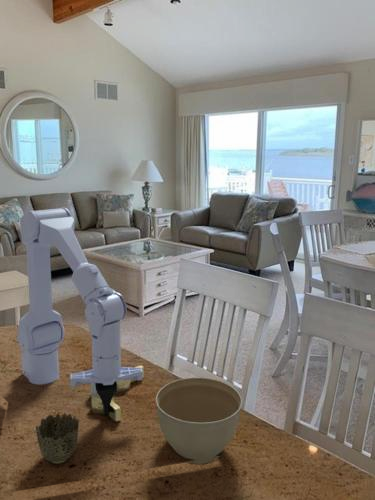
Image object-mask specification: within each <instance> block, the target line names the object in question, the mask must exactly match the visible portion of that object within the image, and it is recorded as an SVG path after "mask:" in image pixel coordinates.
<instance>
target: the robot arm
mask: <svg viewBox="0 0 375 500" xmlns="http://www.w3.org/2000/svg"><path fill="white" fill-rule="evenodd" d="M19 220H20V223H19V224H20V237H21V244H22V245H25V246H26V247H25V248H26V261H27V262H26V264H27V265H26V266H27V279H28V281H27V282H28V283H27V284H28V298H29V299H28V300H29V310H28V312H26V313H25V314H24V315H22V317H21V318H20V319H19V321H18V330H17V333H16V334H17V336H16V337H17V343H18V345H19V347H20V350H22V351H21V366H22V375H23V376H25V377H26V378H27V380H28V381H29V382H30V383H31V384H32V385H33V384H34V385H47V384H50V383H54V382H55V381H57V380H58V379H59V378H60V365H59V363H60V362H59V351H58V350H59V349H58V348H59V347H61V342H63V341H64V339H65V334H66V333H65V332H66V330H65V327H64V324H63V318H62V314H60V313H59V312H58V311H56V310H54V309H53V294H52V292H53V291H52V273H51V272H52V271H51V270H52V269H51V250H50V249H51V246H55V247H56V249H57V250H58V252H59V253H60V254H61V256H62V258H63V259H64V260H65V262H66V263H67V264H68V267H70V269H71V270H72V272H73V273H72V276H71V281H72V283H73V285H74V286H75V288H76V290H77V292H78V294H79V295H80V297H81V299H82V301H83V303H84V304H85V309H84V315H85V318H86V321H87V323H88V331H89V333H90V334H91V358H92V359H91V361H92V362H91V363H92V368H91V369H89V370H84V371H80V372H75V373H70V375H69V377H70V379H69V380H70V388H75V387H77V386H80V385H91V384H92V383H95V386H96V391H97V393H98V395H99V396H100V398H101V400H102V402H103V411H104V414H103V417H110V416H109V406H110V403H111V400H112V398H113V396H115V394H116V390H117V381H122V380H132V379H137V380H136V381H143V380H144V379H143V378H144V377H143V371H142V368H141V367H139V368H135V367H129V366H122V365H121V364H122V357H121V355H122V354H121V353H122V352H121V351H122V349H121V348H122V347H121V346H122V344H121V341H122V340H121V339H122V337H121V333H122V331H121V321H122V320H124V318H126V316H127V311H128V310H127V308H128V307H127V304H126V301H125V299H124V296H123V295H122V294H121V293H120V292H117V291H115V289H114V288H111V287H110V285H109V284H108V282H107V281H106V280H105V278H104V276H103V274H102V273H101V271H100V269H99V268H98V266H97V265H96V264H92V263H89V261H88V259H87V256H86V255H85V253H84V251H83V249H82V247H81V244H80V243H79V240H78V239H77V236H76V234H75V227H76V226H75V225H76V224H75V222H76V221H75V219H74V217H73V215H72V213H71V212H70V210H69V209H68V208H67V207H63V206H62V207H58V208H50V209H39V210H26V211H25V212H24V213H23V214H22V216H21V217H20V218H19Z"/></svg>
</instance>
